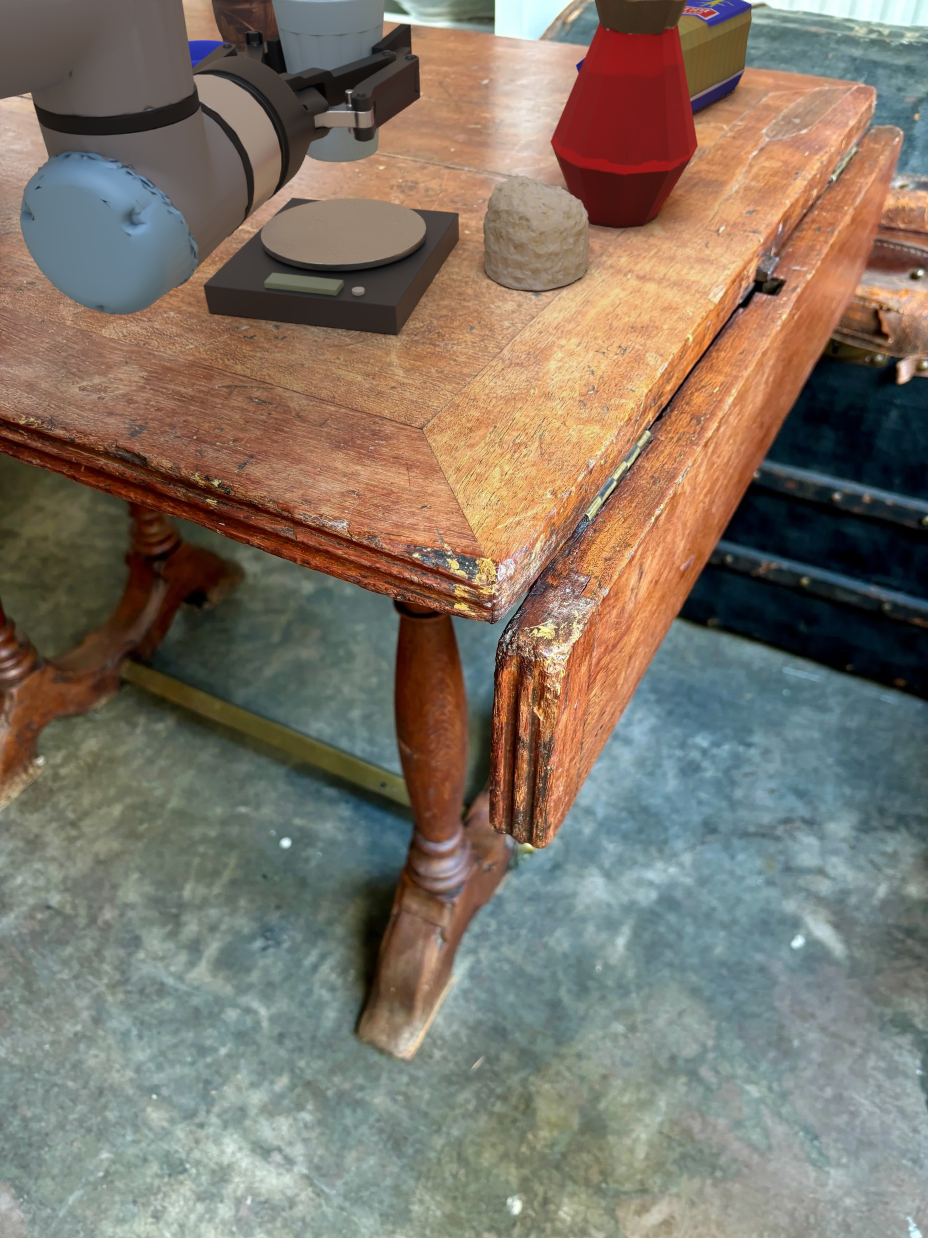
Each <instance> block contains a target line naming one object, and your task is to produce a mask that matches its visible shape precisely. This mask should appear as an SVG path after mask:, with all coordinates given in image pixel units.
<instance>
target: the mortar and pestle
mask: <svg viewBox="0 0 928 1238" xmlns="http://www.w3.org/2000/svg"><path fill="white" fill-rule="evenodd" d="M211 6H212V11H213V16H214V20H215V24H216V26H217V30H218V32H219V34H220V36H221V38H222V42H227V43H230V44H234V45H236V48H237V52H245V49H246V39H245V32H248V31H261V32H262V34H263V41H264V43H265V42H266V40H268V39H270V38H271V37H273V36H274V35H276V34H277V33H279V31H278V26H277V22H276V18H275V13H274V8H273V4H272V0H211Z"/></svg>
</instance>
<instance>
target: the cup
mask: <svg viewBox="0 0 928 1238" xmlns="http://www.w3.org/2000/svg"><path fill="white" fill-rule="evenodd" d="M272 4H273V8H274V13H275V18H276V22H277V26H278V31H279V35H280V40H281V45H282V50H283V54H284V59H285V64H286V69H287V73H290V74H295V73H298V72H301V71H304V70H307V69H310V68H319V69H324V70H332V69H335V68H338V67H341V66H343V65H346V64H349V63H352V62H355V61H357V60H360V59H363V58H366V57H368V56H371V55H372V47H373V46H374V45H375V44H377V43H378V42H380V41H381V40H382V39H383V38H384V18H385V0H272ZM379 138H380V127H379V128H377V129H376V132H375V136H374V138H373V139H372V140H370V141H367V142H360V141H357V140H355V138H354V134H350V133H348V127H334V128H332V129H331V130H330V132H329V134H328V135H327V136H325V137H324V138H321V139H318V140H315V141H313V142H311V143H310V146H309V148H308V151H307V154H306V156H307V157H309V158H311V159H313V160H316V161H320V162H325V163H350V162H357V161H360V160H364V159H367V158H369V157H372V156H374V155H375V154H376V153H377V151H378V150H379V141H380V140H379Z"/></svg>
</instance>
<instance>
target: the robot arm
mask: <svg viewBox="0 0 928 1238" xmlns="http://www.w3.org/2000/svg"><path fill="white" fill-rule="evenodd" d="M245 39H246V49H245V52H237V49H236V45H234V44H230V43H224V44H223V45H220V46H218V47H217V48H216V49H215V50H213V51H212V52H211V53H210V54H209V55H207V56H206V57H205V58H204V59H203V60H201V61H200V62H199V63H198V64H197V65H195V66H194V67H193V68H192V64H191V57H190V50H189V43H188V41H189V38H188V30H187V24H186V17H185V11H184V3H183V0H0V100H4V99H9V98H13V97H18V96H22V95H26V94H27V95H28V94H30V95H31V98H32V104H33V107H34V111H35V114H36V118H37V120H38V126H39V129H40V133H41V135H42V139H43V142H44V146H45V149H46V153H47V155H48V159H47V161H45V162H44V163H43V165H42V166H40V167H38V168H37V172H36V173H34V174H33V175H32V177H30V179H29V180H28V182H27V183H26V185H25V187H24V189H23V195H22V199H21V206H20V216H19V222H20V229H21V233H22V238H23V241H24V243H25V246H26V248H27V250H28V252H29V255H30V256H31V259H32V260H33V262H34V263H35V265H36V266H37V268H38V269H39V270H40V272H41V273H42V274H43V275H44V276H45V277H46V279H47V280H48V282H50V284H52V285H53V286H54V288H56V289H57V290H58V291H59V292H60V293H62V294H63V295H64V296H65V297H67V298H69V299H70V300H72V301H73V302H75V303H77V304H79V305H81V306H82V307H85V308H87V309H89V310H92V311H96V312H100V313H102V314H103V313H104V314H108V315H111V316H116V315H117V316H119V315H120V316H123V315H132V314H136V313H138V312H141V311H144V310H146V309H148V308H150V307H152V306H153V305H154V304H155V303H156V302H158V301H160V300H161V299H162V298H163V297H164V296H166V295H167V294H169V292H171V291H172V290H174V289H178V288H180V287H181V286H182V285H185V284H186V283H187V282H189V280H190V279H191V278H192V276H193V275H195V271H197V269H198V268H199V267H200V266H201V265H202V264H203V263H204V262H205V261H206V260H207V259H208V258H209V256H210V255H211V254H212V253H213V252H214V251H215V250H216V249H217V248H218V247H219V246H220V245H221V244H222V243H223V242H224V241H225V240H226V239H227V238H229V237H231V236H232V235H233V234H234V233H235V231H237V230H238V229H239V228H240V227H241V226H242V225H243V224H244V223H245V222H246V221H247V220H248V219H249V218H250V217H251V216H252V215H253V214H254V213H255V212H257V211H258V210H259V209H260V208H261V207H262V206H263V205H264V204H265V203H267V201H269V200H271V199H272V198H273V197H274V196H275V195H276V194H278V193H279V192H280V191H281V190H282V189H283V188H285V186H287V184H289V183H290V181H291V180H292V179H294V178H295V177H296V175H297V174H298V172H299V171H300V169H301V167H302V165H303V164H304V161H305V159H306V156H307V155H306V154H307V151H308V148H309V146H310V143H311V142H313V141H315V140H318V139H321V138H324V137H325V136H327V135H328V134H329V132H330V130H331V129H332V128H334V127H348V133H350V134H354V138H355V140H357V141H360V142H367V141H370V140H372V139H373V138H374V136H375V132H376V129H377V128H379V129H380V127H382V126H383V125H384V124H386V123H387V122H388V121H390V120H391V119H393V118H394V117H396V116H397V115H399V114H400V113H401V112H402V111H404V110H405V109H407V108H408V107H410V106H411V105H412V104H414V103H415V102H417V101H418V100H419V99H420V98H421V80H420V79H421V73H420V56H418V55H416V54H413V49H412V45H413V44H412V25H411V24H409V23H408V24H406V23H400V24H399V25H397V27H395V28H394V29H392V30H391V31H390V32H389V33H388V34H386V35H385V36H383V39H382V40H381V41H380V42H378V43H377V44H375V45H374V46H373V47H372V55H371V56H368V57H366V58H363V59H360V60H357V61H355V62H352V63H349V64H346V65H343V66H341V67H338V68H335V69H332V70H324V69H319V68H310V69H307V70H304V71H301V72H298V73H295V74H290V73H287V69H286V64H285V59H284V54H283V50H282V45H281V40H280V35H279V33H277V34H276V35H274V36H273V37H271V38H270V39H268V40H266V42H265V43H264V41H263V34H262V32H261V31H248V32H245Z"/></svg>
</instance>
